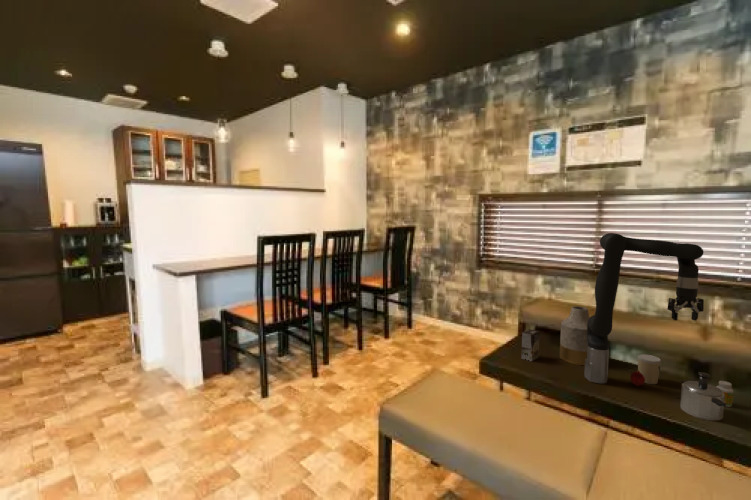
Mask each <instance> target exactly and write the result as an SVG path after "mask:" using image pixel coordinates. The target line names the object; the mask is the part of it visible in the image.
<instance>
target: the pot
mask: <svg viewBox="0 0 751 500" xmlns="http://www.w3.org/2000/svg"><path fill="white" fill-rule="evenodd" d="M686 381H687V380H681V388H680V389H681V390H680V391H681V392H680V402H679V405H680V409H681V410H682V411H684V412H685V413H686V414H687V415H691V416H693V417H695V418H698V419H702V420H706V421H711V422H712V421H713V422H714V421H715V422H716V421H717V422H718V421H721V420H722V419H724V407H727V406H726V403H724V400H725V395H724V393H722V396H719V397H712V396H706V395H701V394H698V393H695V392H693V391H690V390H688V389H687V388H686V387H685V386H684V382H686Z"/></svg>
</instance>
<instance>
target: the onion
mask: <svg viewBox="0 0 751 500" xmlns="http://www.w3.org/2000/svg"><path fill="white" fill-rule="evenodd" d="M629 377H630V381H631V383H633V384H634V385H635V386H636V387H639V386H642V385H644V384H645V378H644V376H643V375H642V374H641V373H640V372H639V370H638V369H637V370H635V371H633V372H632V373H631V374H630V376H629Z"/></svg>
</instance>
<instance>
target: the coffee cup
mask: <svg viewBox="0 0 751 500" xmlns="http://www.w3.org/2000/svg"><path fill="white" fill-rule="evenodd" d="M661 365H662V361H661V359H660V358H659V357H657V356H655V355H652V354H651V355H650V354H642V353H641V354H638V355H637V370H639V372H640V373H641V374H642V375H643V376H644V378H645V382H644V384H648V385H649V384H650V385H656V384H658V381H659V378H660V370H661Z"/></svg>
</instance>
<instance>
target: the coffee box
mask: <svg viewBox="0 0 751 500" xmlns="http://www.w3.org/2000/svg"><path fill="white" fill-rule="evenodd" d="M521 333H522V335H521V337H522V338H521V358H520V359H521V360H525V359H526V360H525V361H528V360H529V362H533V361H535V360H537V359H538V358H539V352H540V351H539V348H540V345H539V344H540V331H539V330H536V329H531V328H529V329H526V330H524V331H523V332H521Z"/></svg>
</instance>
